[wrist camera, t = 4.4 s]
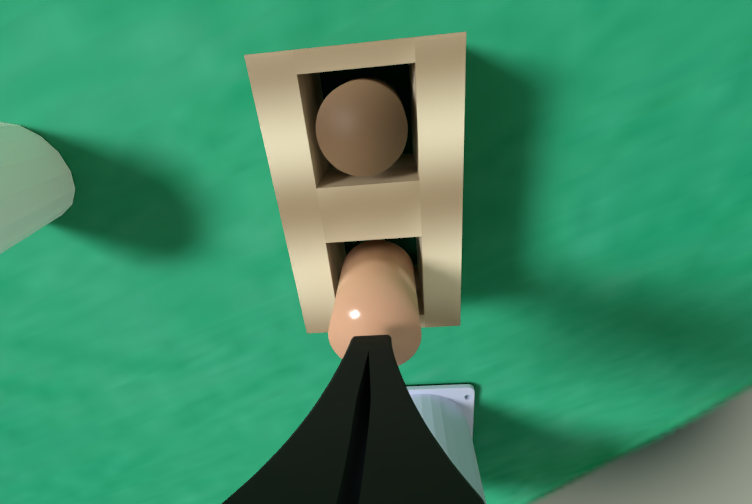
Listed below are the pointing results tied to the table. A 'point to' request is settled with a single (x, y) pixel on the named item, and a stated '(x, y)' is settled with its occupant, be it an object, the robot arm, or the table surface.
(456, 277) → the maple block
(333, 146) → the walnut peg
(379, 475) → the robot arm
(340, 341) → the terracotta peg
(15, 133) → the white cup
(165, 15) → the table surface
